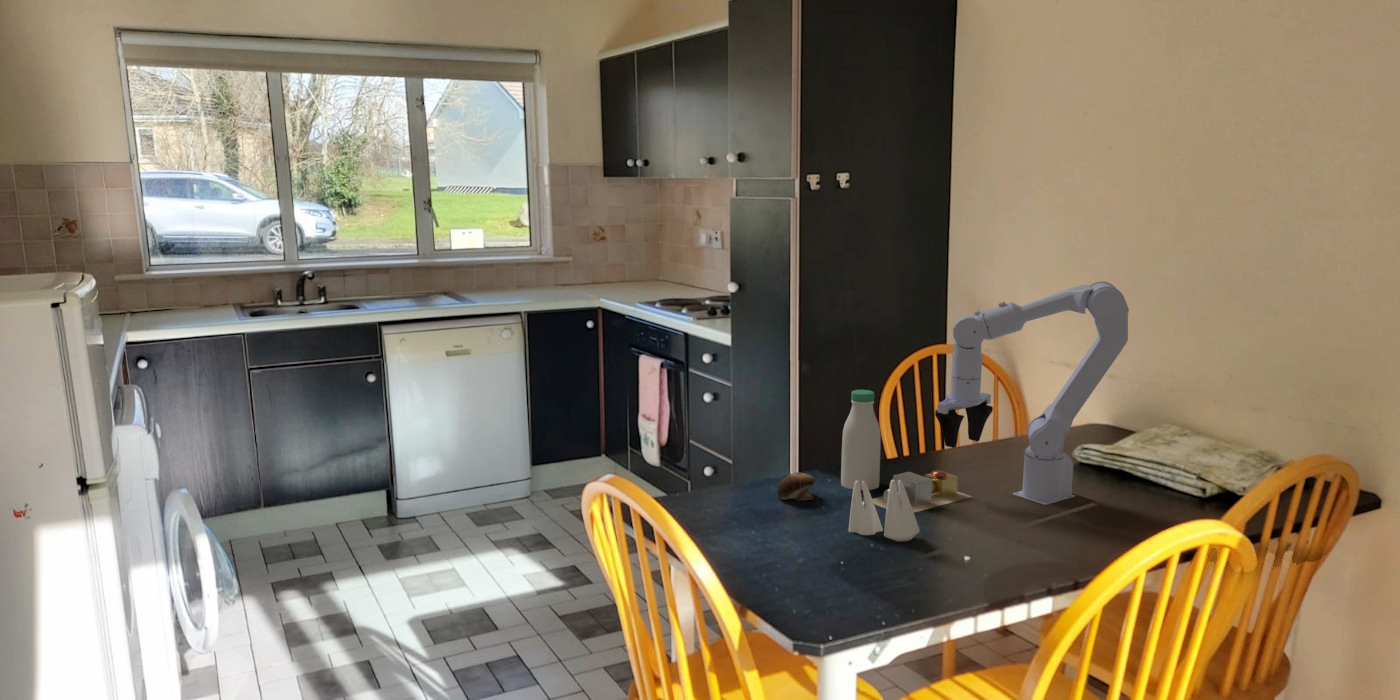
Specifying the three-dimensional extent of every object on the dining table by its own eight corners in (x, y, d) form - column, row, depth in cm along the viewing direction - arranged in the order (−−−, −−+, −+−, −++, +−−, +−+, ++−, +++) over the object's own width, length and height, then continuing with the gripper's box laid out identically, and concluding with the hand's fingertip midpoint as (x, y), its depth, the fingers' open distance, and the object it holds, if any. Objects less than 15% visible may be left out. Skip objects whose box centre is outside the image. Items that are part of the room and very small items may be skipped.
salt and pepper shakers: (920, 540, 171) (922, 480, 169) (912, 548, 168) (915, 486, 166) (855, 528, 177) (857, 469, 175) (846, 535, 174) (848, 475, 172)
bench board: (933, 486, 201) (933, 483, 200) (972, 499, 192) (972, 496, 192) (865, 503, 190) (865, 500, 190) (903, 518, 182) (903, 515, 182)
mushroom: (828, 490, 188) (811, 461, 189) (793, 510, 186) (776, 481, 187) (817, 497, 196) (801, 469, 197) (784, 516, 193) (768, 488, 195)
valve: (939, 487, 198) (940, 467, 197) (957, 494, 194) (958, 472, 193) (913, 494, 193) (914, 473, 193) (930, 501, 190) (931, 479, 189)
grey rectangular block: (908, 494, 194) (909, 471, 193) (930, 502, 189) (931, 479, 188) (877, 502, 189) (878, 478, 188) (900, 511, 184) (900, 487, 183)
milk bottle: (881, 493, 196) (885, 396, 192) (843, 493, 196) (846, 395, 193) (875, 481, 204) (879, 387, 200) (838, 481, 204) (841, 387, 200)
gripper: (971, 369, 201) (968, 433, 203) (926, 378, 192) (923, 445, 194) (1001, 374, 195) (997, 440, 198) (955, 384, 186) (952, 453, 189)
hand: (962, 443), depth 196 cm, fingers open, 7 cm apart
